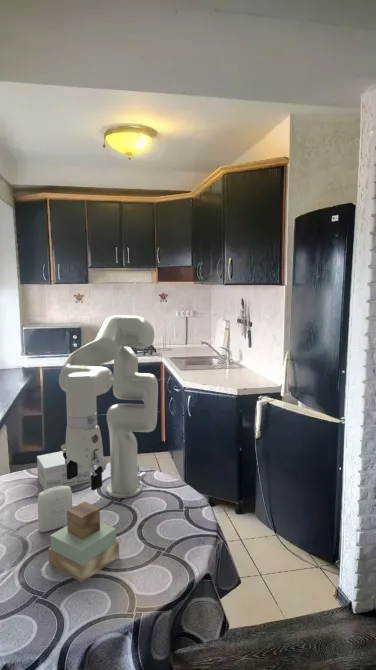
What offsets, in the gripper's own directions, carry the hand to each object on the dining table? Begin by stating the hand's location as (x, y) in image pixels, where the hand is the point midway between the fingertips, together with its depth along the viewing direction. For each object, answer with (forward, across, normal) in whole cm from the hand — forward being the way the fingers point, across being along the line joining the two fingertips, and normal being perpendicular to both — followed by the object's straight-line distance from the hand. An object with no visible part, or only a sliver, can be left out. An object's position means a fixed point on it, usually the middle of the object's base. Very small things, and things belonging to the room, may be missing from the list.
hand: (84, 482), depth 114 cm
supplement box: (+22, +44, -25) cm, 55 cm away
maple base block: (+22, 0, +1) cm, 22 cm away
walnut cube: (+13, 0, 0) cm, 13 cm away
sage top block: (+17, 0, +1) cm, 17 cm away
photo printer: (+22, +20, -4) cm, 30 cm away
